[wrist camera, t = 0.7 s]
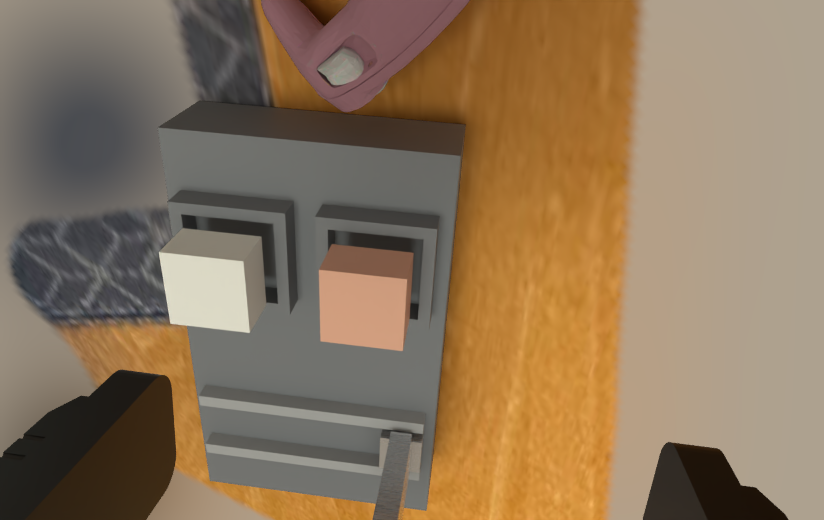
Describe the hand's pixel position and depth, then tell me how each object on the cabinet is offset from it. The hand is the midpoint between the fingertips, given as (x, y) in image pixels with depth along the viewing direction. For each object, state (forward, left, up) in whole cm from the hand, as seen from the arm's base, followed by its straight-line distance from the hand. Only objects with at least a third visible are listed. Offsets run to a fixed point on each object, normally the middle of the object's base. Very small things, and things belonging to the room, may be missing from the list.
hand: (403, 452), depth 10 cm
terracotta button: (+5, -3, -14) cm, 15 cm away
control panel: (+10, -6, -20) cm, 23 cm away
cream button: (+6, -9, -14) cm, 17 cm away
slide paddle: (+16, -1, -15) cm, 22 cm away
